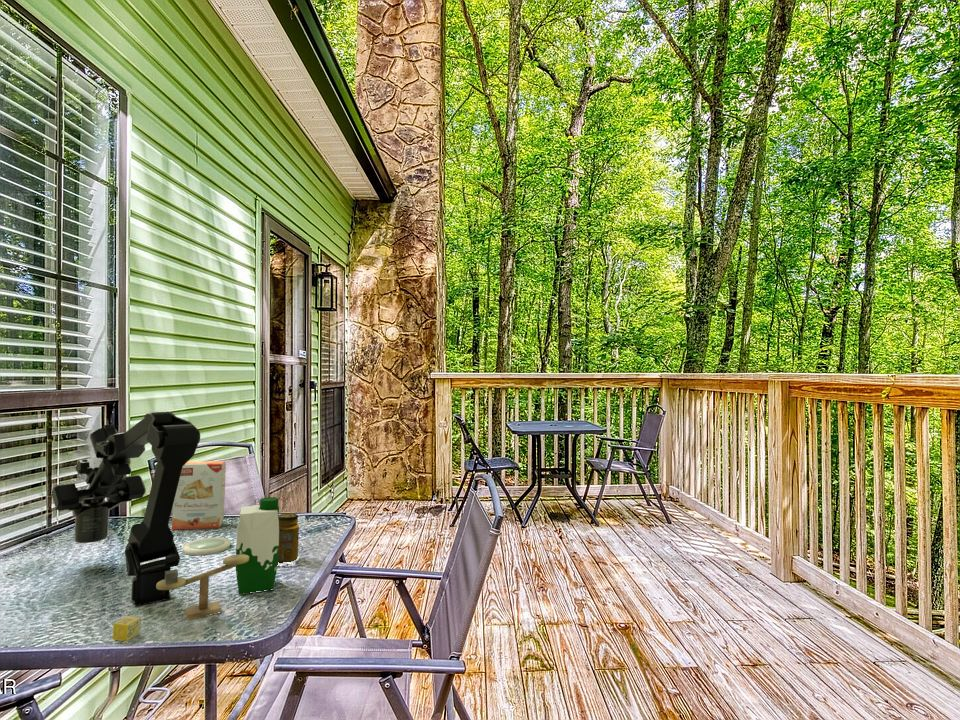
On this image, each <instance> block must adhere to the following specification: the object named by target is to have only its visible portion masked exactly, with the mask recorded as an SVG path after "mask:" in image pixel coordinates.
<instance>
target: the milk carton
mask: <svg viewBox="0 0 960 720" xmlns="http://www.w3.org/2000/svg"><path fill="white" fill-rule="evenodd" d="M279 506H280V505H279V498H278V497H276V496H275V497H274V496H273V497H272V496H269V497H263V498H260V499H259V504H253V505H249V506H241V509H240V513H239V520H238V524H237V527H236V528H237V529H236V537H235V538H236V542H235V543H236V545H235V555H239V554H244V555H248V556H249V561H248V562H246V563H243V564H239V565H237V566H236V567H235V577H236V582H237V583H236V584H237V591H238V592H237V593H238V595H239V594H243V593H250V592H256V591H264V590H271V589H273V590H274V588H275V581H276V577H277V576H276V575H277V571H278V567H277V565H278V550H279V520H278V517H279V515H280V514H279V512H280V507H279ZM243 595H244V594H243Z"/></svg>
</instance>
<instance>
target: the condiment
mask: <svg viewBox="0 0 960 720" xmlns="http://www.w3.org/2000/svg"><path fill="white" fill-rule="evenodd" d="M298 518H299V515H298V514H297V513H292V512H287V513H280V514H279V517H278V520H279V550H278V562H279V563H283V562H291V561H294V560H296V559H297V557H298V556H299V534H300V533H299V532H300V531H299V530H300V525H299V524H298V522H299V520H298Z"/></svg>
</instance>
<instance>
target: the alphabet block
mask: <svg viewBox="0 0 960 720" xmlns="http://www.w3.org/2000/svg"><path fill="white" fill-rule="evenodd" d="M141 623H142V621H141V617H137V616H129V615H127V616H125V617H123V618H120V620H117V621H116V622H114V623H113V625H112V626H113V628H112V639H113V640H115V641H123V642H125V641H126V642H127V641H130V640H131V639H132V638H135V637H136V636H137V635H139V634H140V633H141V625H142V624H141Z"/></svg>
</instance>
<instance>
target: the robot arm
mask: <svg viewBox="0 0 960 720" xmlns="http://www.w3.org/2000/svg"><path fill="white" fill-rule="evenodd" d="M89 439H90V443H91V445H92V448H93V451H94V453H95V454H94V455H95V456H96V457H95V458H86V459H79V460H78V461H77V463H76V465H75V471H76V472H77V474H78V475H85V476H86V479H85V482H86V485H88V488H86V489H78V488H77V487H76V483H74V482H69V483H63V484H55V485H54V486H53V488H52V489H51V492H50V493H51V497H52V500H53V504H54V507H55V510H56V511H59V512H60V511H71V513H72V517H73V518H74V517H75V516H76V515H77V514H78V513H79V512H80V511H81V510H82V508H83V507H82V504H81V503H82V500H85V499H92V498H94V500H95V499H101V498H104V499H107V498H108V500H107V502H108V503H109V511H110V510H113V509H114V508H116V507H119V506H121V505H122V504H125V503H128V502H132V500H139V499H143V497H144V496H145V494H146V492H147V491H146V489H147V488H146V487H145V486H146V485H145V483H144V481H143V478H142V477H141V475H139V474H136V475H135V474H134V475H131V474H132V469H131V466H130V465H131V459H138V458H140V457H141V456H142V455H143V454H144V452H145V451H146V445H147V444H149V445H151V452H152V454H153V455H154V457H155V459H156V461H157V462H156V467H155V470H154V475H153V479H152V482H151V483H152V484H151V487H150V491H149V496H148V500H147V503H146V507H145V511H144V516H143V520H142V522H139V523H134V524H133V525H132V526H131V528H130V531H129V536H128V539H127V542H128V543H127V544H126V546H125V549H124V559H125V568H126V572H127V576H128V577H132V576H134V577H132V578H131V593H130V594H131V597H130V598H131V601H132V602H133V603H134V606H135V607H138V606H142V605H148V604H153V603H157V602H162V601H167V600H171V599H172V598H171V597H172V596H171V592H170V590H158V589H157V588H156V584H157V583H158V582H159V581H161V580H164V579H165V571H170V570H172V569H171V568H173V567H178V566H179V564H180V560H181V555H180V554H179V551H178V549H177V546H176V543H175V541H174V537H175V536H174V535H175V534H174V533H173V530H172V528H170V525H169V522H170V518H171V517H172V515H171V514H172V511H173V504H174V500H175V496H176V492H177V488H178V484H179V480H180V476H181V471H182V468H183V466H184V465H185V464H186V463H187V462H190V460H191V459H192V458H193V457H194V456H195V454H196V451H197V448H198V445H199V443H200V442H201V441H200V440H201V432H200V430H199V429H198V428H197V427H196V426H195V425H194V424H193V423H192V422H191V421H190V420H189V421H188V420H187V419H184V418H181V417H178V416H176V415H175V413H173V412H170V411H151V412H149V413H148V412H147V413H146V414H145V415H144V417H143V419H141V420H140V421H138V422H137V423H136V424H134V425H133V426H132V427H130V428H129V429H128V430H127V431H124V432H120V433H119V432H118V430H117V429H116V428H115V425H114V424H104V425H103V427H100V428H98V429H96V430H94V431H92V432H91V433H90V435H89ZM125 475H127V476H125ZM142 563H143V564H142Z"/></svg>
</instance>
